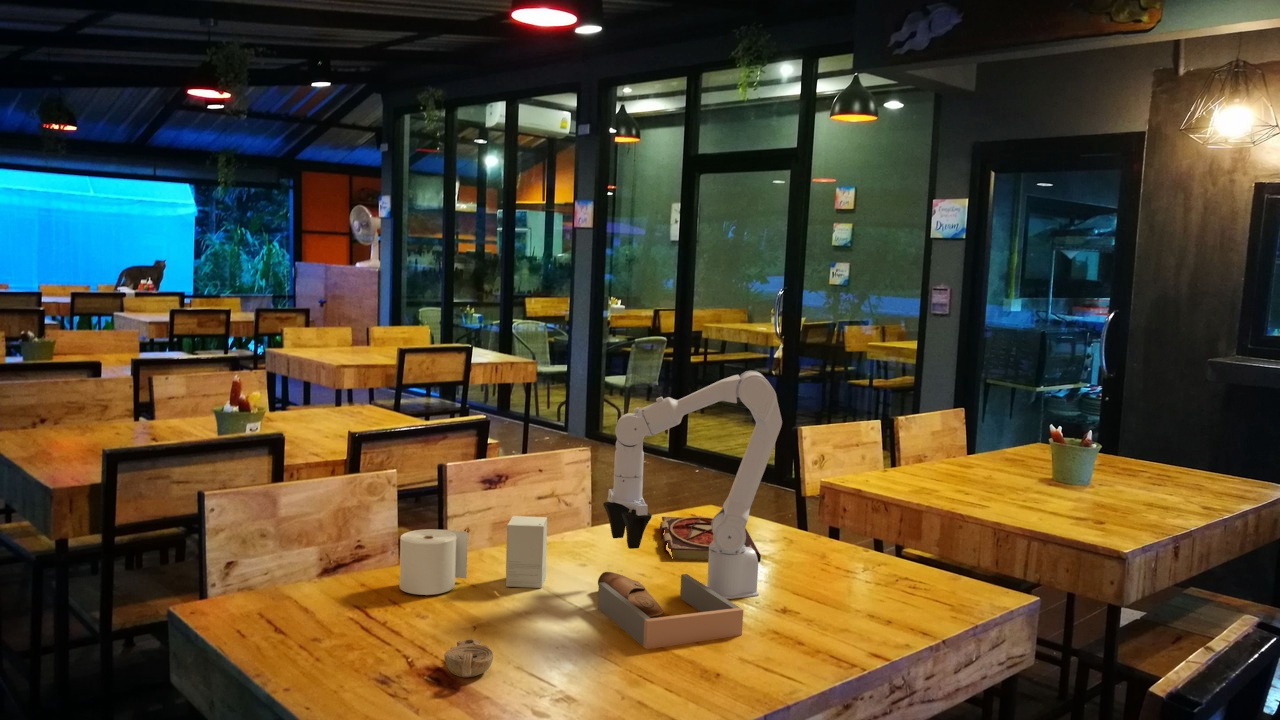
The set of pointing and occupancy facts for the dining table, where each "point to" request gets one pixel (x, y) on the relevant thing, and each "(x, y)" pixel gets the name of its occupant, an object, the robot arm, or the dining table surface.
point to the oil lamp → (468, 658)
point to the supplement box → (526, 551)
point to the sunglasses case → (632, 592)
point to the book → (692, 537)
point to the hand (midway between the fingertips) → (625, 542)
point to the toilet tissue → (432, 560)
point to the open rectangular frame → (672, 630)
